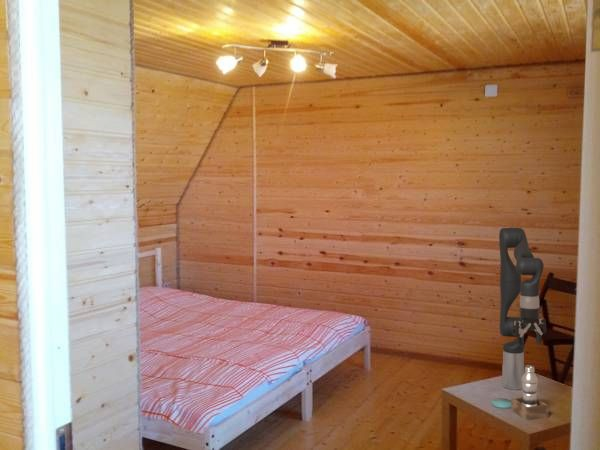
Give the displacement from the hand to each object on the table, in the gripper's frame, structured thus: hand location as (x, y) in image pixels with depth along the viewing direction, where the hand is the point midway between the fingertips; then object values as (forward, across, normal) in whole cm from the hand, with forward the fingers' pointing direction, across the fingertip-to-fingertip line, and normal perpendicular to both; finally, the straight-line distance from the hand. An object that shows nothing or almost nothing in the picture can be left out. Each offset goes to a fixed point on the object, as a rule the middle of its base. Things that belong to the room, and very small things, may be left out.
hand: (529, 344), depth 249 cm
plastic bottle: (+30, 0, 0) cm, 30 cm away
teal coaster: (+29, +5, -12) cm, 32 cm away
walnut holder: (+29, 0, 0) cm, 29 cm away
